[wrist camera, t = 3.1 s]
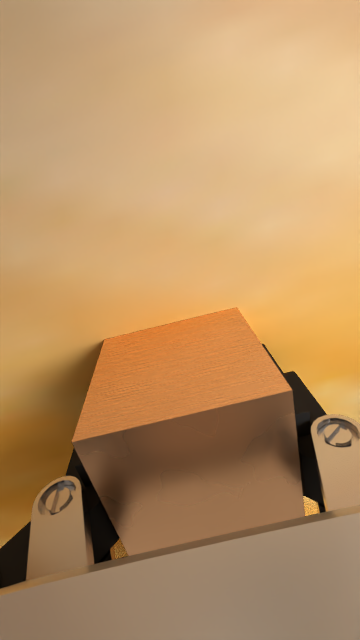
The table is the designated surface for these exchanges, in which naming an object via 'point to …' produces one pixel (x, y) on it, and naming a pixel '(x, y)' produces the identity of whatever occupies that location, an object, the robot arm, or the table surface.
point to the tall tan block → (190, 433)
